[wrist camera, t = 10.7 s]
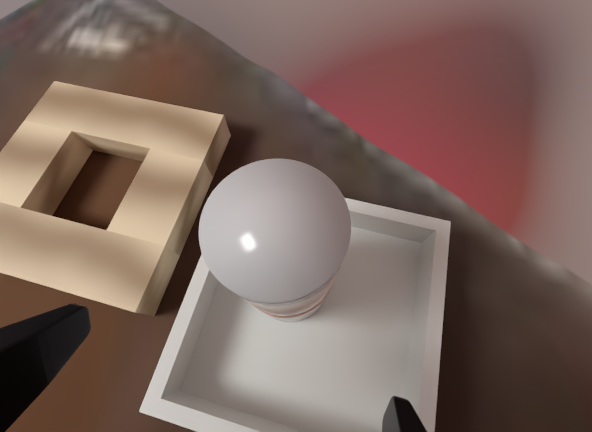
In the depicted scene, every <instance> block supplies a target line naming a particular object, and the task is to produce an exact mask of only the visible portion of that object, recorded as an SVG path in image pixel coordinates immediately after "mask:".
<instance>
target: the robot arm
mask: <svg viewBox="0 0 592 432" xmlns="http://www.w3.org/2000/svg"><path fill="white" fill-rule="evenodd" d="M90 328H91V325H90V318H89V311H88V308H87V307H86V306H83V305H79V304H76V303H72V304H69V305H66V306H63V307H60V308H57V309H54V310H51V311H48V312H45V313H42V314H40V315H37V316H34V317H31V318H28V319H25V320H22V321H19V322H16V323H14V324H11V325H8V326H5V327H2V328H0V432H5V431H6V430H7V429H8V428H9V427H10V426H11V425H12V424H13V423H14V422H15V420H16V419H17V418H18V417H19V416H20V415H21V414H22V413H23V412H24V411H25V410H26V409H27V408H28V407H29V405H30V404H31V403H32V402H33V401H34V400H35V399H36V398H37V397H38V396H39V395H40V394H41V392H42V391H43V390H44V389H45V388H46V387H47V386H48V385H49V383H50V382H51V381H52V380H53V379H54V377H55V376H56V375H57V374H58V372H59V371H60V370H61V369H62V367H63V366H64V365H65V364H66V362H67V361H68V360H69V359H70V357H71V356H72V355H73V353H74V352H75V351H76V350H77V348H78V347H79V346H80V345H81V343H82V342H83V341H84V340H85V338H86V337H87V336H88V334H89V332H90ZM382 432H427V430H426V429H425V427H424V425H423V423H422V422H421V420H420V418H419V416H418V415H417V413H416V411H415V410H414V408H413V406H412V404H411V403H410V402H409V400H407V399H405V398H401V397H398V396H392V397H391V399H390V401H389V404H388V406H387V408H386V411H385V413H384V416H383V421H382Z"/></svg>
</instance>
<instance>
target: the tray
mask: <svg viewBox="0 0 592 432" xmlns="http://www.w3.org/2000/svg"><path fill="white" fill-rule="evenodd" d="M344 199H345V201H346V203H347V206H348V209H349V213H350V219H351V237H350V243H349V246H348V250H347V253H346V255H345V257H344V259H343V261H342V264H341V266H340V268H339V270H338V272H337V274H336V277H335V279H334V281H333V284H332V286H331V288H330V291H329V293H328V294H327V296H326V298H325V300H324V302H323V304H322V305H321V307H320V308H319V309H318V310H317V311H316V312H315V313H314V314H313V315H311V316H310V317H308V318H306V319H304V320H301V321H297V322H283V321H279V320H276V319H274V318H272V317H270V316H268V315H267V314H265V313H263V312H262V311H260V310H258V309H257V308H256V307H254V306H253V305H252V304H250V303H249V302H247V301H246V300H244V299H243V298H241V297H240V296H238V295H237V294H235V293H234V292H232V291H231V290H229V289H228V288H227V287H225V286H224V285H223V284H222V283H221V282H220V281H218V280H217V279H216V278H215V276H214V275H213V274H212V272H211V271H210V270H209V268H208V266H207V264H206V263H205V261H204V258H203V255H202V254H201V257H200V259H199V262H198V264H197V267H196V269H195V272H194V274H193V277H192V279H191V282H190V284H189V287H188V289H187V292H186V294H185V297H184V299H183V302H182V304H181V307H180V309H179V312H178V315H177V317H176V320H175V322H174V325H173V327H172V330H171V332H170V335H169V337H168V340H167V342H166V345H165V347H164V350H163V352H162V355H161V357H160V360H159V362H158V365H157V367H156V370H155V372H154V375H153V378H152V380H151V383H150V385H149V388H148V390H147V393H146V395H145V398H144V400H143V403H142V405H141V408H140V410H139V412H141V413H144V414H147V415H150V416H153V417H156V418H159V419H162V420H165V421H168V422H171V423H174V424H176V425H179V426H182V427H185V428H188V429H191V430H194V431H197V432H382V421H383V416H384V413H385V411H386V408H387V406H388V404H389V401H390V399H391V397H392V396H398V397H401V398H405V399H407V400H409V402H410V403H411V404H412V406H413V408H414V410H415V411H416V413H417V415H418V416H419V418H420V420H421V422H422V423H423V425H424V427H425V429H426V430H427V432H434V431H435V418H436V405H437V392H438V380H439V367H440V354H441V341H442V328H443V315H444V302H445V289H446V276H447V263H448V250H449V237H450V224H451V221H446V220H442V219H437V218H433V217H428V216H424V215H419V214H415V213H411V212H406V211H402V210H397V209H393V208H388V207H384V206H379V205H375V204H370V203H366V202H362V201H357V200H353V199H348V198H344Z"/></svg>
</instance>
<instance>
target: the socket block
mask: <svg viewBox="0 0 592 432" xmlns="http://www.w3.org/2000/svg"><path fill="white" fill-rule="evenodd" d="M230 137H231V134H230V132H229V129H228V126H227V123H226V120H225V118H224V115H221V114H216V113H211V112H206V111H201V110H196V109H191V108H186V107H181V106H176V105H171V104H166V103H161V102H156V101H151V100H146V99H141V98H136V97H131V96H126V95H121V94H116V93H111V92H106V91H101V90H96V89H91V88H86V87H81V86H76V85H71V84H66V83H61V82H56V81H54V82H53V84H52V85H51V86H50V87H49V89H48V90H47V91H46V93H45V94H44V95H43V97H42V98H41V99H40V101H39V102H38V103H37V105H36V106H35V107H34V109H33V110H32V111H31V113H30V114H29V115H28V117H27V118H26V119H25V121H24V122H23V123H22V125H21V126H20V127H19V128H18V130H17V131H16V132H15V134H14V135H13V136H12V138H11V139H10V140H9V142H8V143H7V144H6V146H5V147H4V148H3V150H2V151H1V152H0V272H1V273H4V274H7V275H11V276H14V277H18V278H21V279H24V280H28V281H31V282H34V283H38V284H41V285H44V286H48V287H51V288H55V289H58V290H61V291H65V292H68V293H71V294H75V295H78V296H81V297H85V298H88V299H91V300H95V301H98V302H102V303H105V304H108V305H112V306H115V307H118V308H122V309H125V310H128V311H132V312H135V313H141V314H147V315H153V316H155V314H156V311H157V309H158V307H159V304H160V302H161V300H162V297H163V295H164V293H165V290H166V288H167V285H168V283H169V281H170V278H171V276H172V274H173V271H174V269H175V267H176V264H177V262H178V259H179V257H180V255H181V252H182V250H183V248H184V245H185V243H186V241H187V238H188V236H189V234H190V231H191V229H192V226H193V224H194V222H195V219H196V217H197V215H198V212H199V210H200V208H201V205H202V203H203V200H204V198H205V196H206V193H207V191H208V189H209V186H210V184H211V182H212V179H213V177H214V174H215V172H216V170H217V167H218V165H219V163H220V160H221V158H222V156H223V153H224V151H225V149H226V146H227V144H228V141H229V139H230ZM93 150H94V151H99V152H103V153H107V154H112V155H116V156H120V157H125V158H129V159H133V160H138V161H142V162H143V163H142V165H141V167H140V169H139V170H138V172H137V174H136V176H135V178H134V180H133V182H132V184H131V185H130V187H129V189H128V191H127V193H126V195H125V197H124V198H123V200H122V202H121V204H120V206H119V208H118V210H117V212H116V213H115V215H114V217H113V219H112V221H111V223H110V225H109V226H108V228H107V230H103V229H99V228H96V227H92V226H88V225H84V224H80V223H77V222H73V221H69V220H65V219H62V218H58V217H54V216H53V214H54V212H55V211H56V209H57V207H58V206H59V204H60V203H61V201H62V199H63V198H64V196H65V195H66V193H67V191H68V190H69V188H70V187H71V185H72V183H73V182H74V180H75V178H76V177H77V175H78V174H79V172H80V170H81V169H82V167H83V166H84V164H85V162H86V161H87V159H88V158H89V156H90V154H91V153H92V151H93Z"/></svg>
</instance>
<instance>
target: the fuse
mask: <svg viewBox="0 0 592 432" xmlns="http://www.w3.org/2000/svg"><path fill="white" fill-rule="evenodd" d="M350 237H351V219H350V213H349V209H348V206H347V203H346V201H345V199H344V196H343V195H342V193H341V192H340V190H339V188H338V187H337V186H336V185H335V184H334V182H333V181H332V180H331V179H330V178H328V177H327V176H326V175H325V174H324V173H322V172H321V171H319V170H318V169H316V168H314V167H312V166H310V165H307V164H305V163H302V162H299V161H295V160H289V159H266V160H261V161H257V162H253V163H250V164H248V165H245V166H243V167H241V168H239V169H237V170H236V171H234V172H232V173H231V174H230V175H228V176H227V177H226V178H224V179H223V180H222V181H221V182H220V183H219V184H218V185H217V187H216V188H215V189H214V190H213V191H212V193H211V194H210V196H209V197H208V199H207V201H206V203H205V205H204V208H203V211H202V214H201V217H200V222H199V244H200V249H201V253H202V255H203V258H204V261H205V263H206V264H207V266H208V268H209V270H210V271H211V272H212V274H213V275H214V276H215V278H216V279H217V280H218V281H220V282H221V283H222V284H223V285H224V286H225V287H227V288H228V289H229V290H231V291H232V292H234V293H235V294H237V295H238V296H240V297H241V298H243V299H244V300H246V301H247V302H249V303H250V304H252V305H253V306H254V307H256V308H257V309H258V310H260V311H262V312H263V313H265V314H267V315H268V316H270V317H272V318H274V319H276V320H279V321H283V322H297V321H301V320H304V319H306V318H308V317H310V316H311V315H313V314H314V313H315V312H316V311H317V310H318V309H319V308H320V307H321V305H322V304H323V302H324V300H325V298H326V296H327V294H328V293H329V291H330V288H331V286H332V284H333V281H334V279H335V277H336V274H337V272H338V270H339V268H340V266H341V264H342V261H343V259H344V257H345V255H346V253H347V250H348V246H349V243H350Z"/></svg>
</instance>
